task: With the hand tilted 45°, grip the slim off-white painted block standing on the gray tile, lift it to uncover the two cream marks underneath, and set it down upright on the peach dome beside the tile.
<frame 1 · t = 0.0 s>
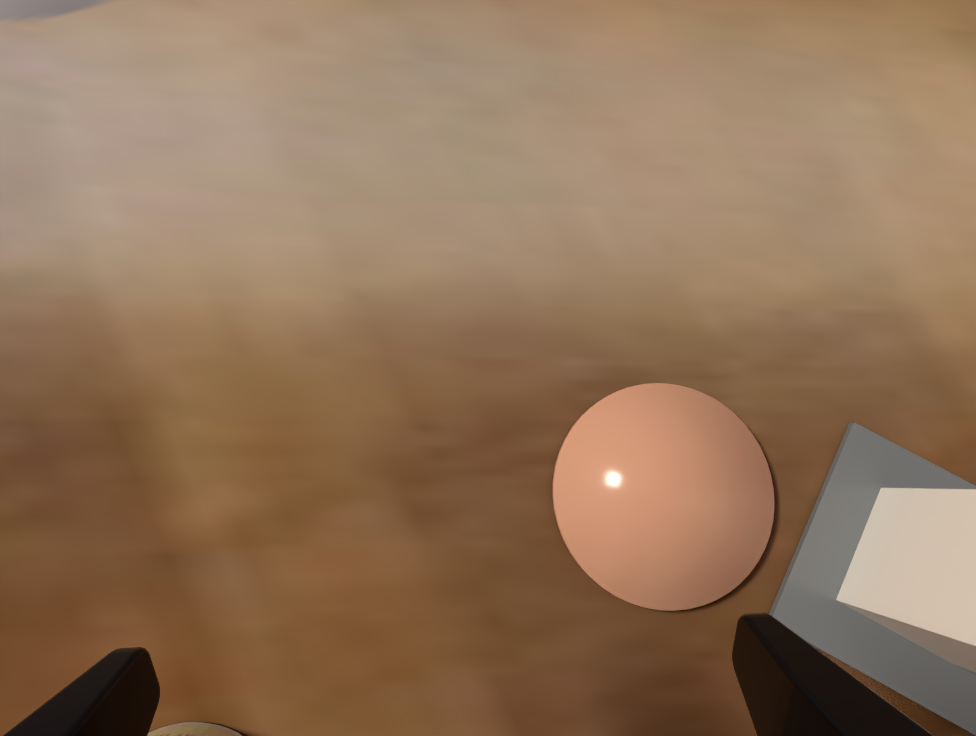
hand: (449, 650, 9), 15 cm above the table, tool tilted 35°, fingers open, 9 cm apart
gray tile: (910, 572, 24), on the table
peach dome: (659, 492, 24), on the table
ivory block: (915, 573, 23), resting on gray tile
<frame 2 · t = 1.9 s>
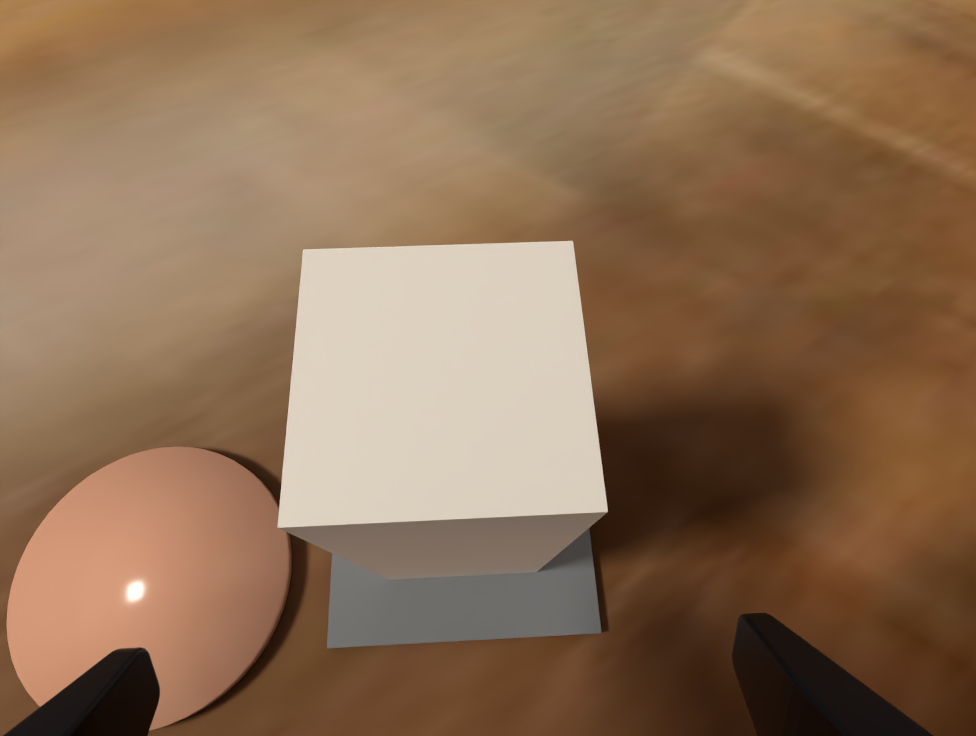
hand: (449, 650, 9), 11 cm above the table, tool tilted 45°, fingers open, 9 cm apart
gray tile: (461, 503, 21), on the table
peach dome: (159, 578, 20), on the table
ivory block: (461, 502, 21), resting on gray tile
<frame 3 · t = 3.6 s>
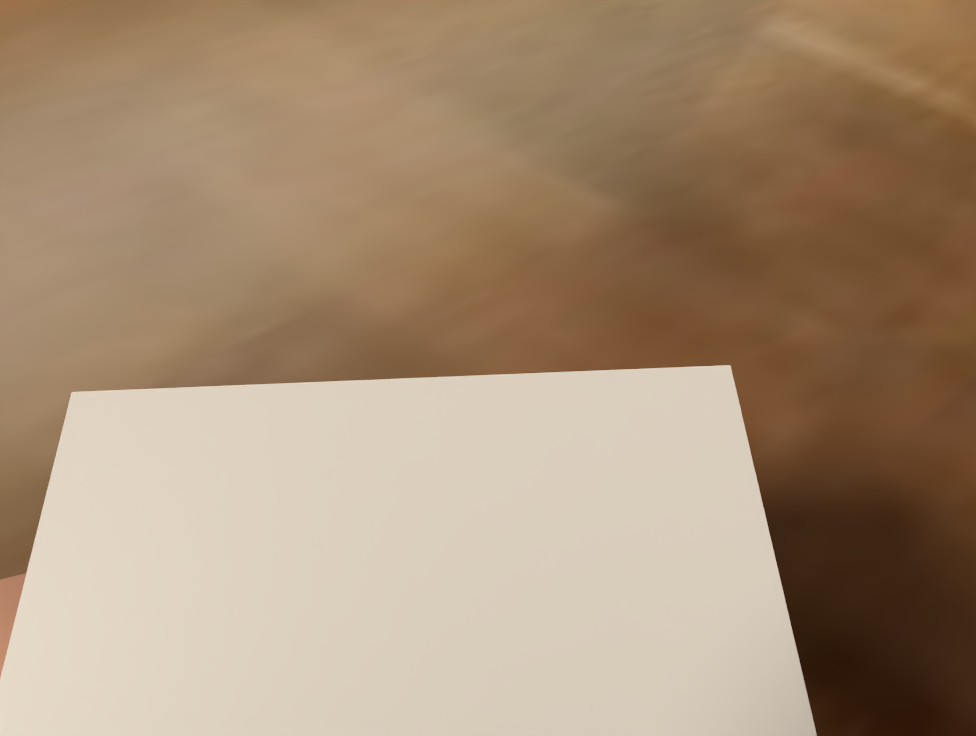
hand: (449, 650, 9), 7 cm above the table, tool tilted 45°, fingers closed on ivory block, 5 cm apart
ivory block: (461, 653, 14), resting on gray tile, touching gripper
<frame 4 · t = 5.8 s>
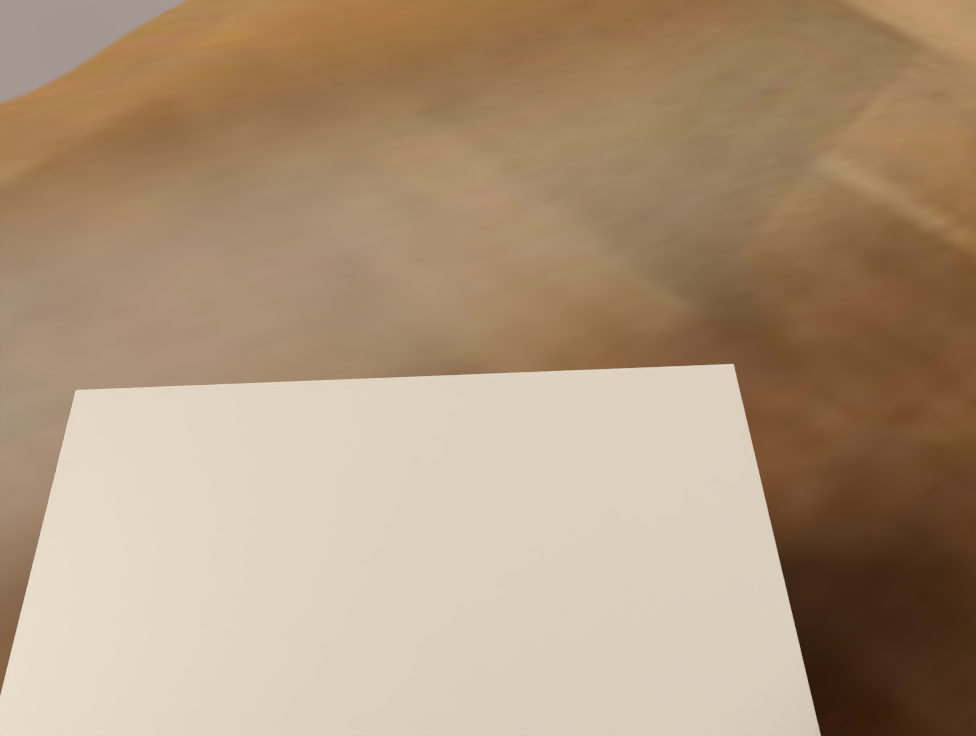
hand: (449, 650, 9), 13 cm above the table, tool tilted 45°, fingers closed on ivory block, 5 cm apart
ivory block: (462, 652, 14), point 7 cm above the table, touching gripper
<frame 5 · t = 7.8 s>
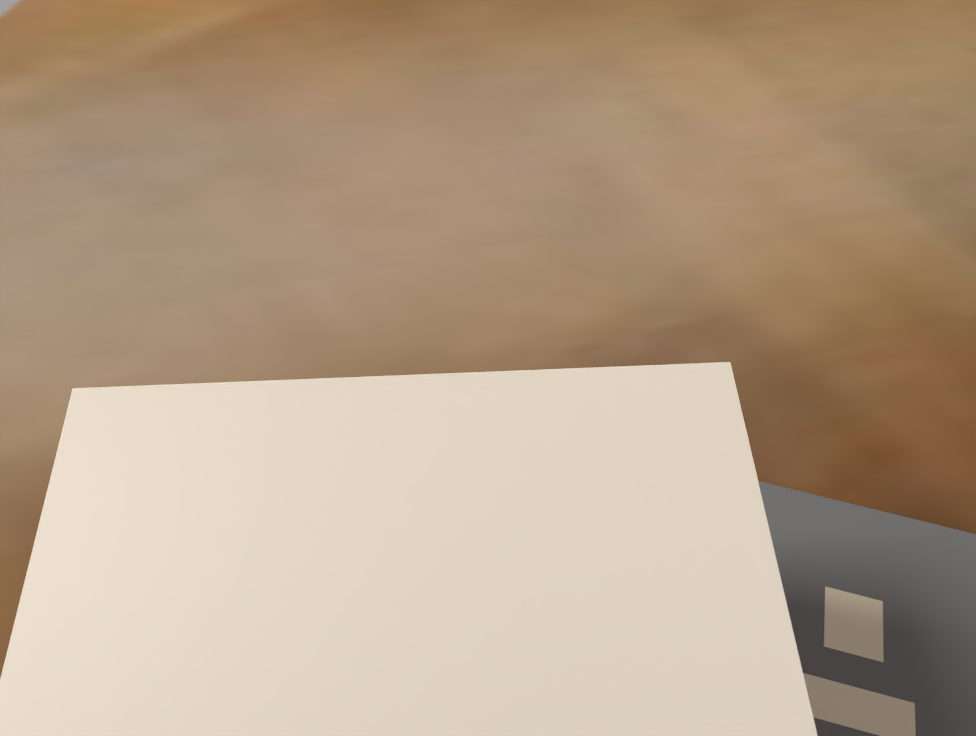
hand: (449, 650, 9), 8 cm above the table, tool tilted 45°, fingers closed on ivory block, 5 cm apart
gray tile: (846, 665, 16), on the table
ivory block: (461, 651, 14), point 2 cm above the table, touching gripper
when the fingers open (8 cm above the table, at t = 8.3 s): ivory block stays where it is, resting on peach dome.
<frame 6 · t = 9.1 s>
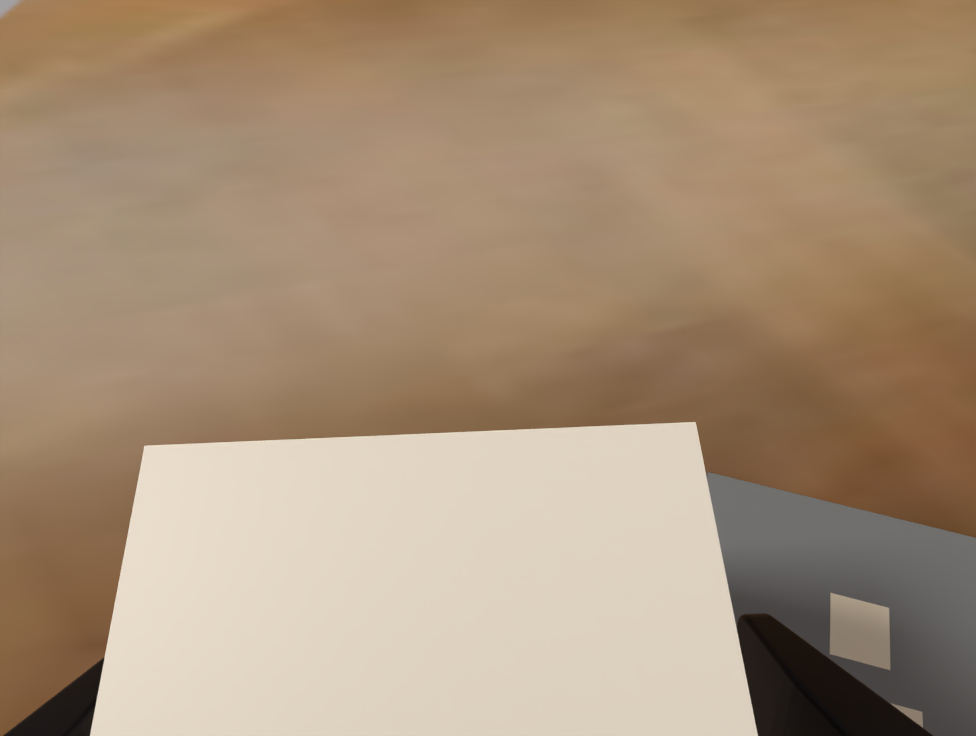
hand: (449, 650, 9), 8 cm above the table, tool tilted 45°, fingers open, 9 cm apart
gray tile: (852, 673, 16), on the table
ivory block: (463, 656, 15), point 1 cm above the table, touching peach dome
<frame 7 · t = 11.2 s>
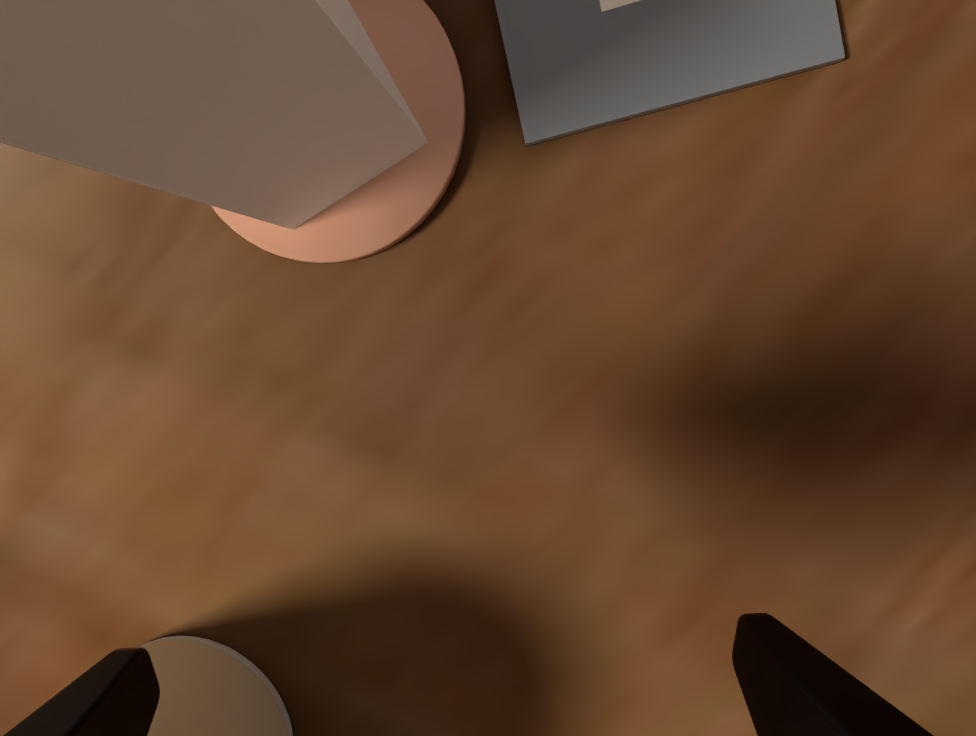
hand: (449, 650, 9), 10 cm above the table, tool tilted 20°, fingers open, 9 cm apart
coffee cup: (198, 730, 21), on the table
peach dome: (324, 118, 18), on the table
ivory block: (318, 115, 18), point 1 cm above the table, touching peach dome
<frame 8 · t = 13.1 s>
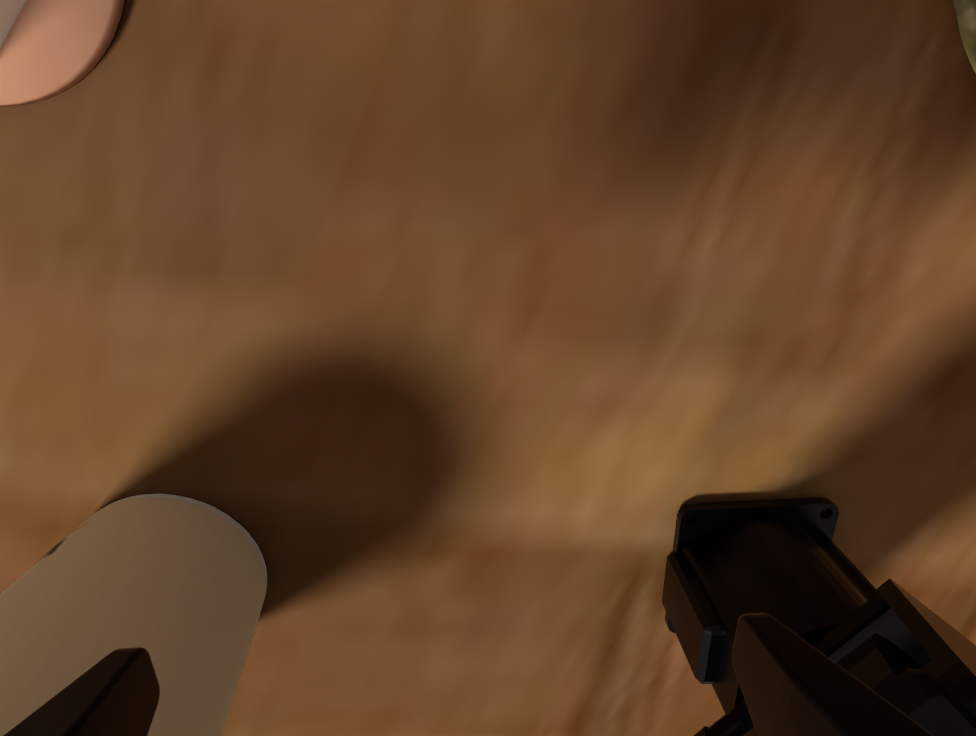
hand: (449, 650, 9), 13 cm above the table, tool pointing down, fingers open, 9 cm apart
coffee cup: (175, 567, 24), on the table
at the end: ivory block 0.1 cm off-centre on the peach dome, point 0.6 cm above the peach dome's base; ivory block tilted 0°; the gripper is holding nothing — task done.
